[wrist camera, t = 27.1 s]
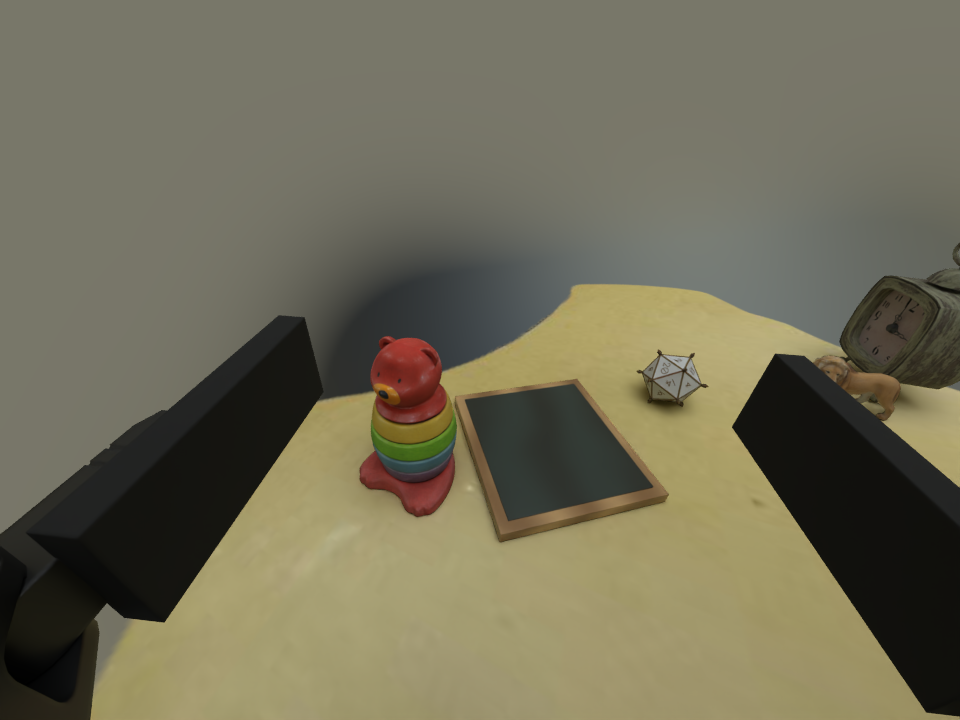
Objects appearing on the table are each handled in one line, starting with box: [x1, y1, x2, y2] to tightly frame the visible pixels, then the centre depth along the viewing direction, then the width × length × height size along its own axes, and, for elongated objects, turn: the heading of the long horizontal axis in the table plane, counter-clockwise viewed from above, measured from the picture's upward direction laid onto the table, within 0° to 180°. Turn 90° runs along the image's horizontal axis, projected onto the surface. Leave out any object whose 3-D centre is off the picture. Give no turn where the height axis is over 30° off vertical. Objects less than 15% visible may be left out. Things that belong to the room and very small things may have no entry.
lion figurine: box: [813, 356, 901, 420], centre depth 55 cm, size 15×5×9 cm, turn 86°
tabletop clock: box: [839, 243, 960, 402], centre depth 56 cm, size 14×9×25 cm, turn 165°
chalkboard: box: [455, 379, 669, 542], centre depth 48 cm, size 20×22×2 cm
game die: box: [637, 349, 709, 407], centre depth 56 cm, size 9×8×10 cm
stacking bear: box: [360, 336, 457, 516], centre depth 40 cm, size 11×10×18 cm
